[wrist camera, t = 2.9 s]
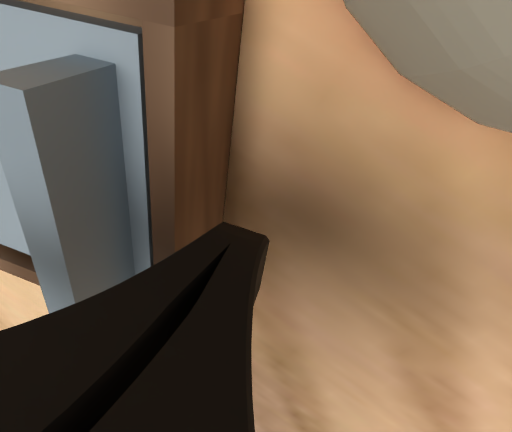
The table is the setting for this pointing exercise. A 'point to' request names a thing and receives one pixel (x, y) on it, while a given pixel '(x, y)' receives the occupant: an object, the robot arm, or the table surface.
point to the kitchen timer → (448, 50)
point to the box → (175, 112)
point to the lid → (73, 149)
